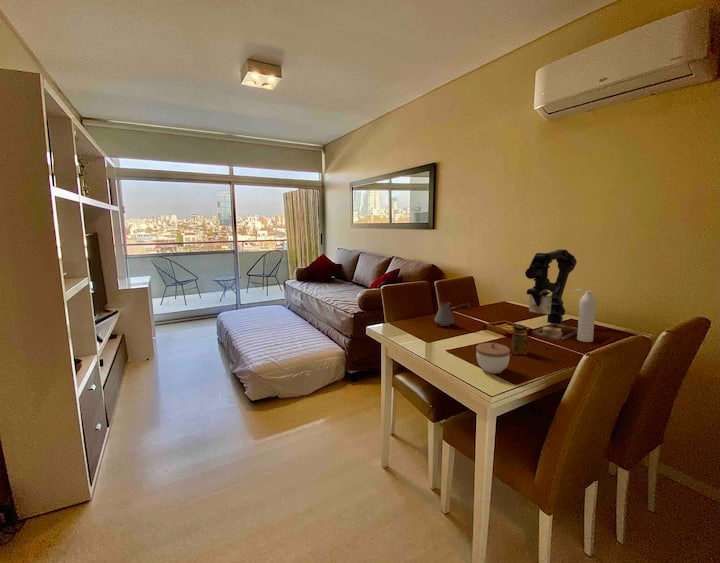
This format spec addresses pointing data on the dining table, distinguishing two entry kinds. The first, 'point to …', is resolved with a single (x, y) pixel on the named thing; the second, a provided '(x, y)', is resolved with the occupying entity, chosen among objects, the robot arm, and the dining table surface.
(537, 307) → the pale grey rectangular block
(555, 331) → the offcut
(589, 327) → the water bottle
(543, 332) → the offcut
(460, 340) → the dining table surface
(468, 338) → the dining table surface
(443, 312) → the coffee pot
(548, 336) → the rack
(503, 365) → the lidded bowl
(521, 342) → the condiment
